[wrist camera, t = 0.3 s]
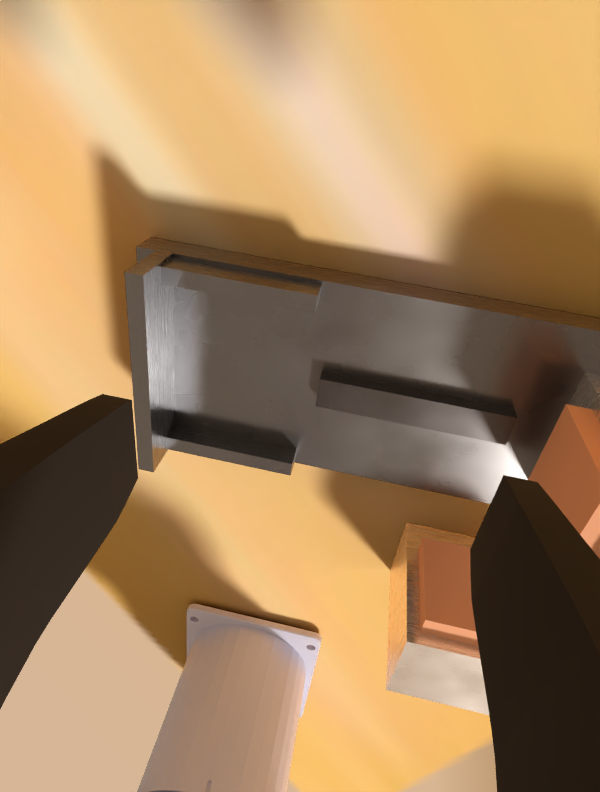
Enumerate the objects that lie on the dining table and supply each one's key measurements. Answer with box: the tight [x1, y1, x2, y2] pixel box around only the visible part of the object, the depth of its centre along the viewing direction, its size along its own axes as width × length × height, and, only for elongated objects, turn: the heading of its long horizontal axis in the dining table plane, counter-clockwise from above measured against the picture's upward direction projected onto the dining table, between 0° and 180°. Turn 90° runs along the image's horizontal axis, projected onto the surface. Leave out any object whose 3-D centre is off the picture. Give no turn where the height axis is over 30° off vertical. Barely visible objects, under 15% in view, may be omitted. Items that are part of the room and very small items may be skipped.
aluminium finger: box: [386, 522, 489, 715], centre depth 22 cm, size 4×5×6 cm
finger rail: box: [125, 237, 600, 559], centre depth 17 cm, size 21×8×7 cm, turn 83°
